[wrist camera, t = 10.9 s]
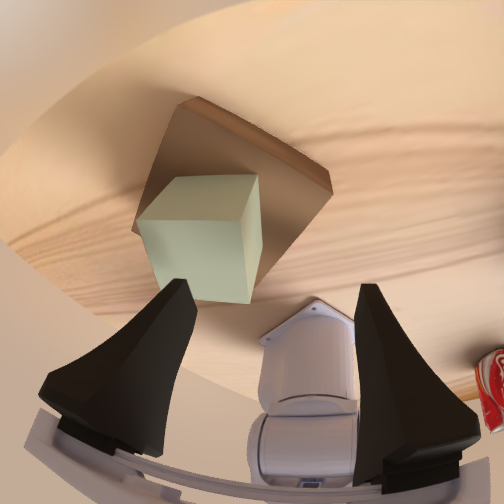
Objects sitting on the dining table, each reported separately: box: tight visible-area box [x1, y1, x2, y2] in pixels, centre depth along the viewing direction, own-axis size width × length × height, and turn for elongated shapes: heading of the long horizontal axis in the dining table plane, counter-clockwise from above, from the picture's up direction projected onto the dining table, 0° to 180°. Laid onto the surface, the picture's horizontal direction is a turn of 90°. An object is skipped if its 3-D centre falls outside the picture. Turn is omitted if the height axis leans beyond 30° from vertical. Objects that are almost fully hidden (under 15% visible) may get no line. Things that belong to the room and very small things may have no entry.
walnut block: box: [131, 97, 333, 289], centre depth 19 cm, size 10×10×4 cm
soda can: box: [475, 349, 504, 434], centre depth 24 cm, size 7×7×12 cm
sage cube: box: [136, 174, 263, 304], centre depth 16 cm, size 5×5×5 cm
